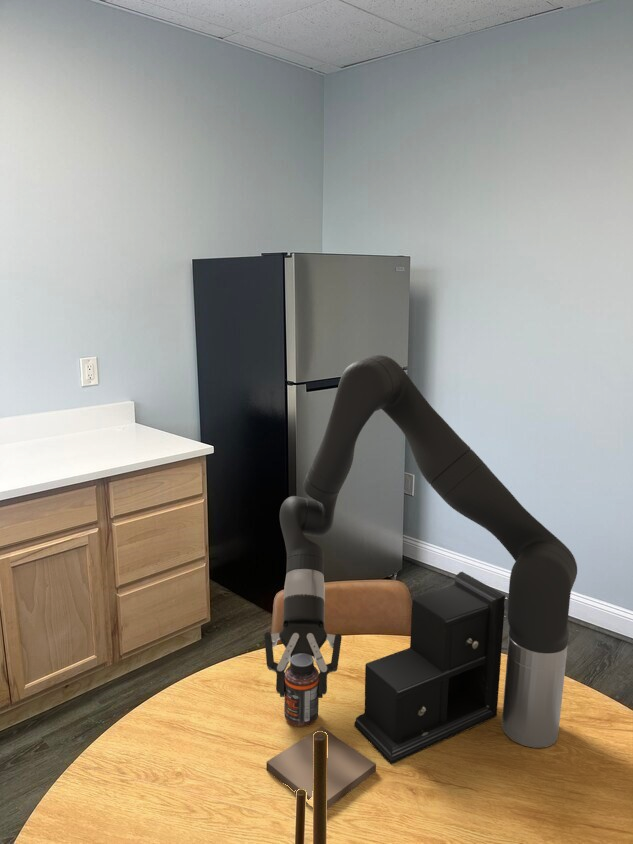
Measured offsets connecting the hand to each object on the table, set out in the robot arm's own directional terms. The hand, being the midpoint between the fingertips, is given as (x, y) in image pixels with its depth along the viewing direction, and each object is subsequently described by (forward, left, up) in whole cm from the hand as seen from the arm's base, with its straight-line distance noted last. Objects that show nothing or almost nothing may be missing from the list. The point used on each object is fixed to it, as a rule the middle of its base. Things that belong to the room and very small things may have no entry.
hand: (301, 696), depth 113 cm
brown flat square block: (+5, +10, -5) cm, 13 cm away
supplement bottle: (-1, -1, -5) cm, 6 cm away
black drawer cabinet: (-16, +14, -6) cm, 22 cm away
